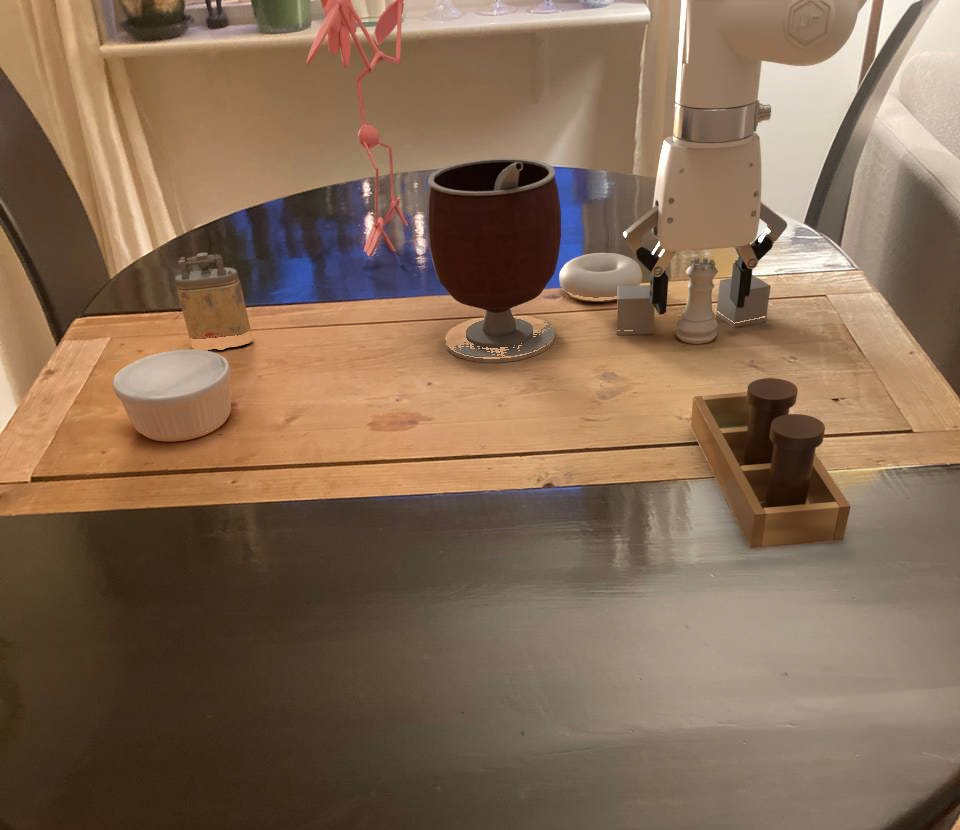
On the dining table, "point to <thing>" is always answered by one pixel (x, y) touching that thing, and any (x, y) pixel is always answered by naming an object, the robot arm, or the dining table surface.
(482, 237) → the mate gourd
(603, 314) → the dining table surface
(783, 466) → the walnut rook
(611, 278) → the donut
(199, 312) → the lighter
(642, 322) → the grey block
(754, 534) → the rack
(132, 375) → the ramekin
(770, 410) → the walnut rook
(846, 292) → the dining table surface
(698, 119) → the robot arm
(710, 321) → the rook chess piece
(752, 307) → the grey block
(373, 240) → the figurine
